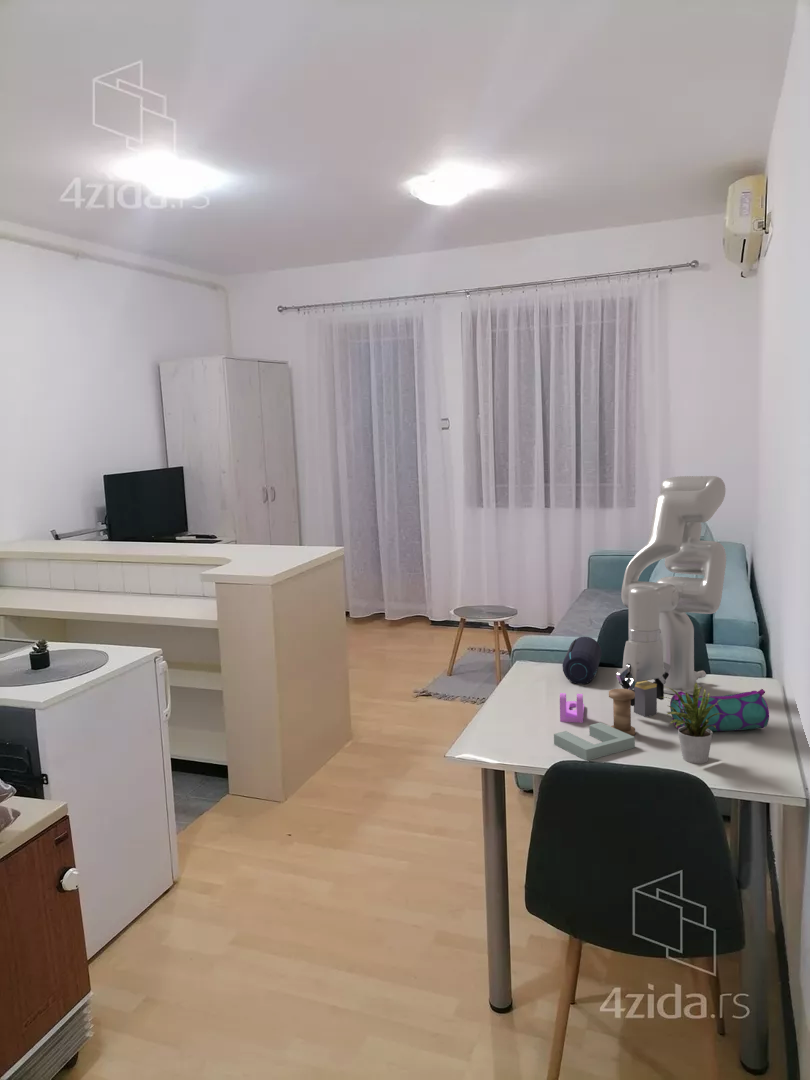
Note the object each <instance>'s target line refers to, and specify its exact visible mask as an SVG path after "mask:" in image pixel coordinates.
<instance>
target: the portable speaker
mask: <svg viewBox="0 0 810 1080" xmlns="http://www.w3.org/2000/svg"><path fill="white" fill-rule="evenodd" d="M602 653H603V652H602V647H601V646H600V644H599V642H598V641H597V640H596V639H594V638H592V637H589V636H579V637H578V638H575V639H574V640H573V641H572V642H571V644H570V645H569V647H568V650H567V652H566V655H565V657H564V659H563V662H562V664H561V665H562V666H561V667H562V672H563V674H564V676H565V678H566V679H567V680H568V681H570V682H571V683H574V684H578V685H579V684H580V685H585V684H588V683H590V682H592V680H593V679H594V678H595V677H596V675H597V674H598V673H597V672H598V669H599V665H600V662H601V658H602Z"/></svg>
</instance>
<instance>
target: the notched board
mask: <svg viewBox="0 0 810 1080" xmlns="http://www.w3.org/2000/svg"><path fill="white" fill-rule="evenodd" d="M610 726H611V725H608V724H605V723H603V722H601V721H600V722H597V723H592V724H589V726H588V727H589V733H588V734H589V736H591V737H593V738H595V739H597V740H599V741H601V742H599V743H595V744H594V743H592V742H590V741H588V740H586V739H584V738H581V737H580V736H578V735H576V734H573V733H571V732H569V731H567V730H565V731H561V732H557V733H553V745H555V746H557V747H558V748H560V749H562V750H565V751H567V752H568V753H571V754H572V755H574V756H576V757H578V758H580V759H582V760H584V761H586V760H588V761H591V760H594V759H598V758H603V757H605V756H609V755H614V754H615V753H616V754H617V753H620V752H624V751H627V750H631V749H634V748H636V740H635V739H636V737H635V735H634V736H631V735H629V734H627V733H624V732H622V731H620V730H617V729H615V728H613V727H610Z"/></svg>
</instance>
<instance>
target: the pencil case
mask: <svg viewBox="0 0 810 1080" xmlns="http://www.w3.org/2000/svg"><path fill="white" fill-rule="evenodd" d="M686 692H687V691H683V692H682V691H680V692H678V694H679V695H681V697H682V698H683V700H684V702H685V703H687V700H686ZM765 694H766V691H765V690H764V688H763V689H762V688H761V689H759V690H758V691H757V690H751V691H746V692H740V693H735V694H726V695H712V696H710V695H709V701H708V704H707V706H706V709H707V708H708V707H709V706H711V705H714V704H716V703H717V702H718V701H719V702H718V703H717V704H716V705H715V706H714V707H713V708H712V709H711V710H710V711H709V713H708V714H707V716H706V717H705V719H704V721H703V723H704V722H705V720H706V719H708V718H709V717H710V716H712V715H713V714H716V713H722V714H717V715H715V716H712V717H711V718H710V719H708V720H709V722H708V724H707V725H706V726H708V725H710V727H708V729H710V730H711V731H712V732H733V731H744V730H754V729H765V728H766V727H767V725H768V724H769V721H770V707H769V706H768V703H767V701H766V699H765V698H764V697H763V696H764V695H765ZM688 695H689V697H690V698H691V700H692V702H693V694H692V693H688ZM702 697H703V695H699V698H698V708H700V705H701V701H702ZM706 697H707V696H706ZM706 697H705V699H706ZM672 699H673V700H672ZM721 699H722V700H721ZM674 700H675V701H674ZM672 701H673V702H672ZM676 701H677V702H678V703H677V702H676ZM669 702H670V704H669V706H670V707H672V708H674V709H675V710H676V711H677V712H680V713H682V711H683V712H684V713H685V714H687V712H686V711H685V710H686V709H685V707H684V706H683V704H682V703H681V701H680V699H679V698H678V696H677V695H676V694H673V695H672V697H671V699H670V700H669ZM674 702H675V703H676V704H677V705H678V706H679V707H680V708H681V709H682V711H681V710H680V709H679V707H678V706H677V705H676V704H675V703H674ZM704 703H705V701H704ZM680 704H681V705H682V706H683V707H684V708H683V707H682V706H681V705H680ZM687 704H688V703H687ZM703 706H704V705H703ZM670 707H669V709H670V712H672V711H673V709H672V708H670ZM684 709H685V710H684ZM706 709H705V710H706ZM673 712H674V711H673ZM670 716H672V717H671V721H672V720H674V719H676V718H677V719H676V720H681V719H680V718H679V717H678V716H677V715H674V714H670ZM674 717H675V718H674ZM681 718H682V719H683V720H684V721H686V720H687V719H686V720H685V719H684V718H683V717H681ZM688 721H689V722H690V723H691V721H690V720H689V719H688ZM676 723H677V722H674V723H673V724H674V726H675V727H676ZM686 723H687V722H686ZM703 723H702V725H703ZM683 724H684V723H683ZM683 724H681V725H679V726H677V727H676V729H677V730H678V729H679V728H680V727H683V726H684V725H685V724H684V725H683ZM702 725H701V726H702ZM713 725H715V726H716V728H715V727H714V726H713ZM685 726H686V725H685Z"/></svg>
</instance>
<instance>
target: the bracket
mask: <svg viewBox="0 0 810 1080" xmlns="http://www.w3.org/2000/svg"><path fill="white" fill-rule="evenodd" d="M570 708H575V709H573V710H572V709H570ZM584 712H585V703H584V694H583V693H576V700H568V701H567V693H566V692H560V693H559V721H560V722H562V723H563V722H567V723H584V714H585V713H584Z"/></svg>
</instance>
